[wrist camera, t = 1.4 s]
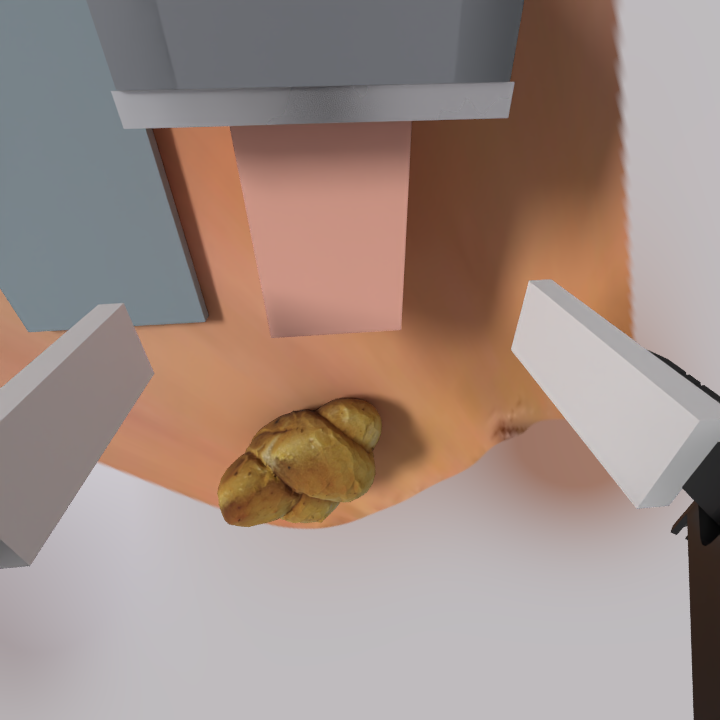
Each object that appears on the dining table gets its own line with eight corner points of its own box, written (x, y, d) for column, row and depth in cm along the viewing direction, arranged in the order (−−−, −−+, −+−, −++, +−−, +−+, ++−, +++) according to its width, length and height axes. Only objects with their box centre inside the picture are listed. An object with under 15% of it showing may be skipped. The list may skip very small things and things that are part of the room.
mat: (-236, -108, 13) (-266, -119, 12) (81, -106, 14) (69, -117, 13) (36, 325, 23) (28, 332, 23) (208, 315, 24) (205, 321, 23)
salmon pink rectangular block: (242, -20, 15) (183, -111, 9) (382, -21, 16) (423, -110, 9) (285, 271, 23) (271, 338, 16) (379, 266, 23) (401, 329, 17)
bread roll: (353, 365, 28) (362, 445, 21) (405, 437, 33) (425, 519, 26) (221, 430, 30) (193, 519, 24) (288, 487, 36) (281, 573, 29)
